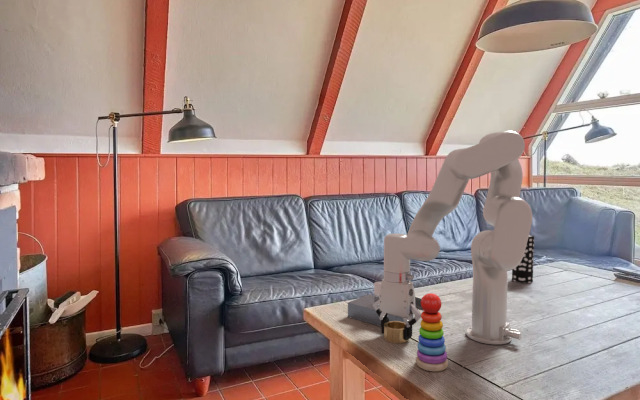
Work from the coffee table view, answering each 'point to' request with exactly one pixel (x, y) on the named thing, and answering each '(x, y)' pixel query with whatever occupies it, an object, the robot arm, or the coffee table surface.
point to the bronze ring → (394, 332)
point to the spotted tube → (525, 264)
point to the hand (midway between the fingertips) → (396, 335)
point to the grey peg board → (369, 308)
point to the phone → (418, 303)
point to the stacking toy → (431, 336)
